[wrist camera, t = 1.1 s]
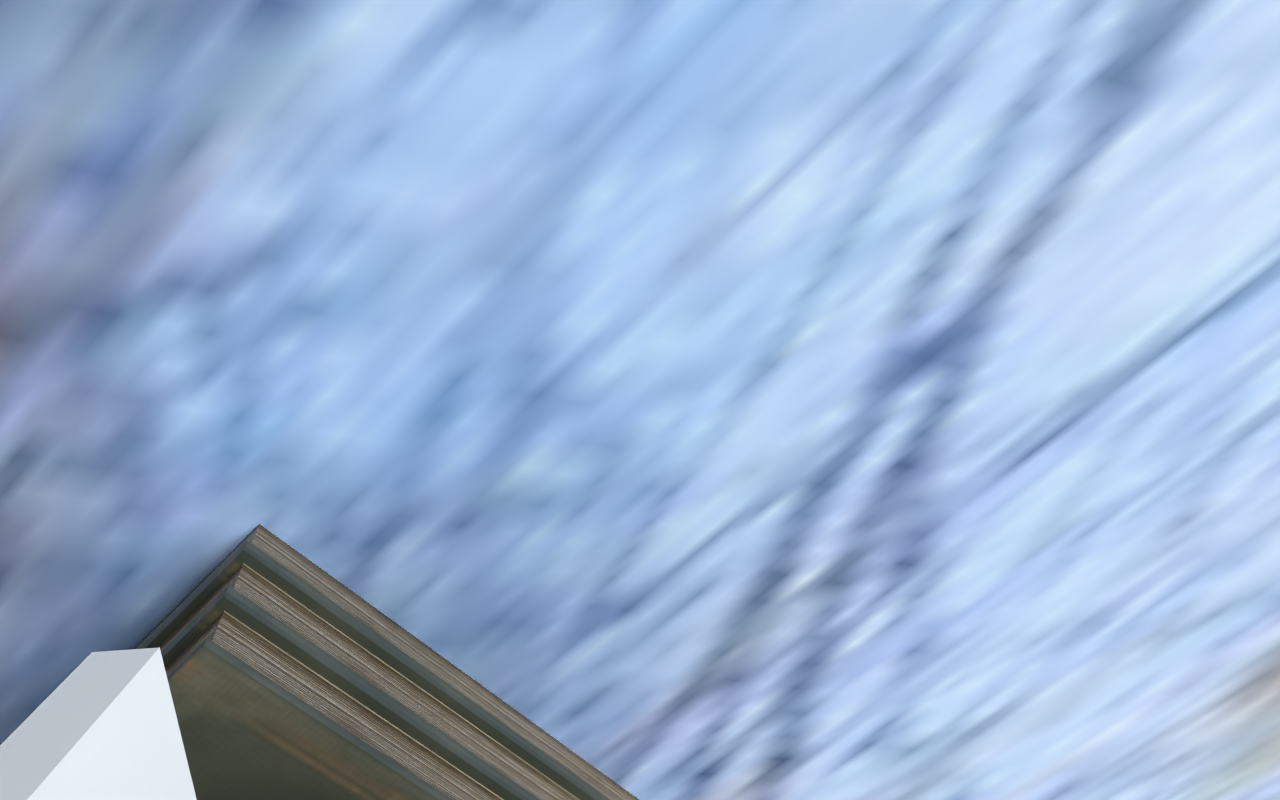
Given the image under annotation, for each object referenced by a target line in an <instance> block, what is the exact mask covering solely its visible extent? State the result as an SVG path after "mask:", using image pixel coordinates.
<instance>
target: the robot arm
mask: <svg viewBox="0 0 1280 800" xmlns="http://www.w3.org/2000/svg"><path fill="white" fill-rule="evenodd" d="M0 800H197V799H196V795H195V791H194V787H193V782H192V778H191V774H190V770H189V766H188V762H187V758H186V754H185V749H184V745H183V741H182V737H181V733H180V729H179V725H178V721H177V716H176V712H175V708H174V704H173V700H172V696H171V692H170V688H169V684H168V679H167V675H166V671H165V667H164V663H163V659H162V655H161V651H160V647H159V648H145V649H130V650H115V651H101V652H92V653H91V654H90V655H89V656H88V657H87V658H86V659H85V660H84V661H83V662H82V663H81V664H80V665H79V666H78V667H77V668H76V669H75V670H74V671H73V672H72V673H71V674H70V675H69V676H68V677H67V678H66V679H65V680H64V681H63V682H62V683H61V684H60V685H59V686H58V687H57V688H56V689H55V690H54V691H53V692H52V693H51V694H50V695H49V696H48V697H47V698H46V699H45V700H44V701H43V702H42V703H41V704H40V705H39V706H38V707H37V708H36V709H35V710H34V711H33V713H32V714H31V715H30V716H29V717H28V718H27V719H26V720H25V721H24V722H23V723H22V724H21V725H20V726H19V727H18V728H17V729H16V730H15V731H14V732H13V733H12V734H11V735H10V736H9V737H8V738H7V739H6V740H5V741H4V742H3V743H2V744H1V745H0Z"/></svg>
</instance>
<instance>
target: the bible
mask: <svg viewBox="0 0 1280 800" xmlns="http://www.w3.org/2000/svg"><path fill="white" fill-rule="evenodd" d="M159 647H160V651H161V655H162V659H163V663H164V667H165V671H166V675H167V679H168V684H169V688H170V692H171V696H172V700H173V704H174V708H175V712H176V716H177V721H178V725H179V729H180V733H181V737H182V741H183V745H184V749H185V754H186V758H187V762H188V766H189V770H190V774H191V778H192V782H193V787H194V791H195V795H196V799H197V800H639V799H637V798H636V797H635V796H633V795H632V794H630V793H629V792H628V791H626V790H625V789H624V788H622V787H621V786H619V785H618V784H617V783H615V782H614V781H613V780H611V779H610V778H608V777H607V776H606V775H604V774H603V773H602V772H600V771H599V770H597V769H596V768H595V767H593V766H592V765H591V764H589V763H588V762H586V761H585V760H584V759H582V758H581V757H580V756H578V755H577V754H575V753H574V752H573V751H571V750H570V749H568V748H567V747H566V746H564V745H563V744H562V743H560V742H559V741H557V740H556V739H555V738H553V737H552V736H551V735H549V734H548V733H546V732H545V731H544V730H542V729H541V728H540V727H538V726H537V725H535V724H534V723H533V722H531V721H530V720H529V719H527V718H526V717H524V716H523V715H522V714H520V713H519V712H517V711H516V710H515V709H513V708H512V707H511V706H509V705H508V704H506V703H505V702H504V701H502V700H501V699H500V698H498V697H497V696H495V695H494V694H493V693H491V692H490V691H489V690H487V689H486V688H484V687H483V686H482V685H480V684H479V683H478V682H476V681H475V680H473V679H472V678H471V677H469V676H468V675H467V674H465V673H464V672H462V671H461V670H460V669H458V668H457V667H455V666H454V665H453V664H451V663H450V662H449V661H447V660H446V659H444V658H443V657H442V656H440V655H439V654H438V653H436V652H435V651H433V650H432V649H431V648H429V647H428V646H427V645H425V644H424V643H422V642H421V641H420V640H418V639H417V638H416V637H414V636H413V635H411V634H410V633H409V632H407V631H406V630H405V629H403V628H402V627H400V626H399V625H398V624H396V623H395V622H393V621H392V620H391V619H389V618H388V617H387V616H385V615H384V614H382V613H381V612H380V611H378V610H377V609H376V608H374V607H373V606H371V605H370V604H369V603H367V602H366V601H365V600H363V599H362V598H360V597H359V596H358V595H356V594H355V593H354V592H352V591H351V590H349V589H348V588H347V587H345V586H344V585H342V584H341V583H340V582H338V581H337V580H336V579H334V578H333V577H331V576H330V575H329V574H327V573H326V572H325V571H323V570H322V569H320V568H319V567H318V566H316V565H315V564H314V563H312V562H311V561H309V560H308V559H307V558H305V557H304V556H303V555H301V554H300V553H298V552H297V551H296V550H294V549H293V548H292V547H290V546H289V545H287V544H286V543H285V542H283V541H282V540H280V539H279V538H278V537H276V536H275V535H274V534H272V533H271V532H269V531H268V530H267V529H265V528H264V527H263V526H261V525H260V524H259V525H258V526H257V527H256V528H255V529H254V530H253V531H252V532H251V533H250V534H249V535H248V536H247V537H246V538H245V539H244V540H243V541H242V542H241V543H240V544H239V545H238V546H237V547H236V548H235V549H234V550H233V551H232V552H231V553H230V554H229V555H228V556H227V557H226V558H225V559H224V560H223V561H222V562H221V563H220V564H219V565H218V566H217V567H216V568H215V569H214V570H213V571H212V572H211V573H210V574H209V575H208V576H207V577H206V578H205V579H204V580H203V581H202V582H201V583H200V584H199V585H198V586H197V587H196V588H195V589H194V590H193V591H192V592H191V593H190V594H189V595H188V596H187V597H186V598H185V599H184V600H183V601H182V602H181V603H180V604H179V605H178V606H177V607H176V608H175V609H174V610H173V611H172V612H171V613H170V614H169V615H168V616H167V617H166V618H165V619H164V620H163V621H162V622H161V623H160V624H159V625H158V626H157V627H156V628H155V629H154V630H153V631H152V632H151V633H150V634H149V635H148V636H147V637H146V638H145V639H144V640H143V641H142V642H141V643H140V644H139V645H138V646H137V647H136V648H135V649H145V648H159Z"/></svg>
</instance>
